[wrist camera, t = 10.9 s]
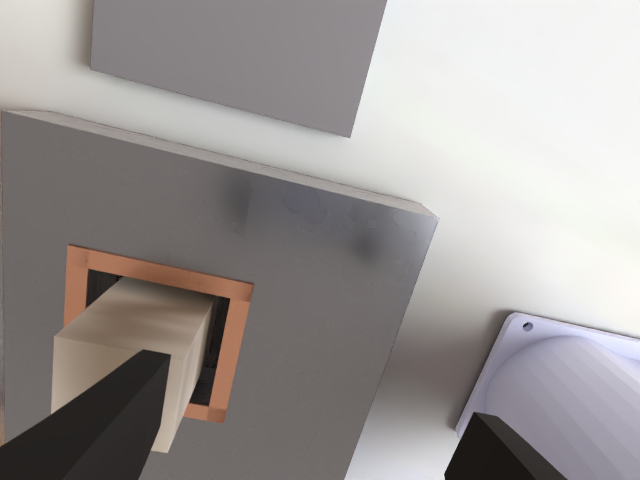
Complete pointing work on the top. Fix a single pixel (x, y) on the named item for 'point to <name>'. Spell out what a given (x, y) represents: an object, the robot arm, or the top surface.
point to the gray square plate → (246, 53)
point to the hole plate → (210, 286)
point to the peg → (137, 343)
